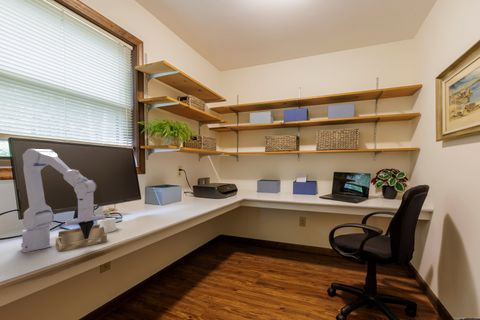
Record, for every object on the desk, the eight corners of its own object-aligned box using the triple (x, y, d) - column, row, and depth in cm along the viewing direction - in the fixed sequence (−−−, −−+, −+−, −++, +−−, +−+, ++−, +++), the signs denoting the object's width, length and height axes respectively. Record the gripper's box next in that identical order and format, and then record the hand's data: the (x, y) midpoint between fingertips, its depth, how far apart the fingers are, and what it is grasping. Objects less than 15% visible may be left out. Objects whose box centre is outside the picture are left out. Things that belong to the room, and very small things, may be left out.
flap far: (58, 232, 105) (58, 231, 105) (58, 237, 107) (58, 236, 107) (99, 224, 116) (99, 224, 116) (98, 229, 118) (98, 228, 118)
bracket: (111, 229, 133) (110, 217, 133) (119, 229, 128) (118, 217, 129) (71, 239, 116) (70, 226, 117) (78, 240, 111) (77, 226, 112)
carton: (58, 252, 97) (58, 245, 97) (55, 244, 106) (55, 237, 106) (107, 241, 110) (107, 234, 110) (100, 235, 119) (100, 228, 119)
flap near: (61, 244, 98) (61, 243, 98) (60, 235, 99) (60, 234, 99) (104, 234, 109) (104, 234, 109) (103, 226, 111) (103, 226, 111)
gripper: (66, 212, 92) (67, 245, 93) (106, 206, 102) (106, 236, 103) (64, 209, 98) (64, 240, 98) (102, 204, 108) (103, 232, 108)
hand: (86, 238), depth 100 cm, fingers closed
